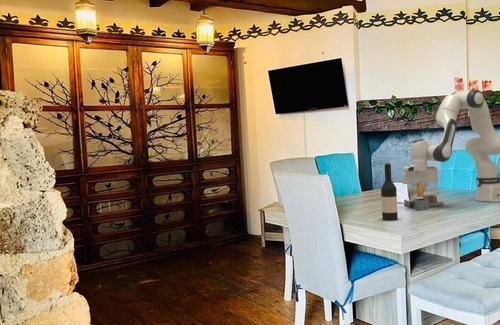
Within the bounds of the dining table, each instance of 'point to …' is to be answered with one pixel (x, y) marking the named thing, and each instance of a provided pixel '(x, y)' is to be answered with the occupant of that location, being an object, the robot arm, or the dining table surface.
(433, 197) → the crate
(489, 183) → the robot arm
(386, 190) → the wine bottle
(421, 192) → the round peg
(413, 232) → the dining table surface
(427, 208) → the square tube sleeve
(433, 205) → the bay
